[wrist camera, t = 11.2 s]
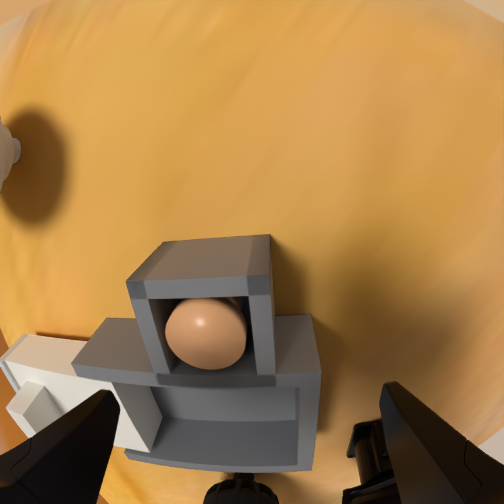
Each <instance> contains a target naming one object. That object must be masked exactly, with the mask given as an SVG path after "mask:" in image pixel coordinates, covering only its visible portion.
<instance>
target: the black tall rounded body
mask: <svg viewBox="0 0 504 504" xmlns="http://www.w3.org/2000/svg"><path fill="white" fill-rule="evenodd" d="M203 504H279V502H278V498H277V496H276V495H275V494H274V493H273V491H272V490H271V488H269V487H268V486H266V485H264V484H262V483H258V482H256V481H254V475H253V473H242V472H236V473H235V474H234V478H233V479H229V480H225V481H222V482H220V483H217V484H215V485H213V486H212V487H211V488H210V489H209V490H208V491H207V493H206V496H205V498H204V502H203Z"/></svg>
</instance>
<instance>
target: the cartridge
mask: <svg viewBox="0 0 504 504" xmlns="http://www.w3.org/2000/svg"><path fill="white" fill-rule="evenodd" d="M87 342H88V341H79V340H69V339H61V338H53V337H45V336H38V335H31V334H23V335H22V336H21V337H20V338H19V339H18V340H17V341H16V342H15V343H14V344H13V345H12V347H11V348H10V349H9V350H8V351H7V352H6V353H5V354H4V355H3V356H2V357H1V358H0V367H1V368H2V370H3V372H4V374H5V375H6V377H7V379H8V380H9V382H10V384H11V385H12V387H13V388H14V390H15V392H16V393H17V394H16V395H15V397H14V398H13V399H12V400H11V401H10V403H9V404H8V405H7V407H6V409H7V411H8V412H9V413H10V415H11V416H12V418H13V419H14V420H15V421H16V423H17V424H18V425H19V427H20V428H21V429H22V431H23V432H24V433H25V434H26V436H28V438H30V437H33V435H35V434H36V433H38V432H39V431H41V430H42V429H44V428H45V427H47V426H48V425H50V424H51V423H52V422H54V421H55V420H57V419H58V418H60V417H61V416H63V415H64V414H66V413H67V412H68V411H70V410H71V409H73V408H74V407H76V406H77V405H79V404H80V403H81V402H83V401H84V400H86V399H87V398H89V397H90V396H91V395H93V394H94V393H96V392H97V391H98V390H100V389H106V390H111V391H112V392H113V394H114V396H115V397H116V399H117V401H118V403H119V405H120V409H121V410H120V416H119V421H118V425H117V430H116V435H115V440H114V446H118V447H123V448H128V449H133V450H138V451H143V452H149V453H150V452H151V449H152V446H153V443H154V440H155V437H156V435H157V432H158V429H159V426H160V423H161V420H162V418H163V416H162V414H161V412H160V410H159V407H158V405H157V403H156V401H155V398H154V396H153V394H152V391H151V389H150V386H143V385H134V384H125V383H117V382H110V381H103V380H96V379H90V378H84V377H79V376H77V374H76V373H75V371H74V369H73V367H72V365H71V362H72V361H73V360H74V358H75V357H76V356H77V354H78V353H79V352H80V351H81V349H82V348H83V347H84V345H85V344H86V343H87Z"/></svg>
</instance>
